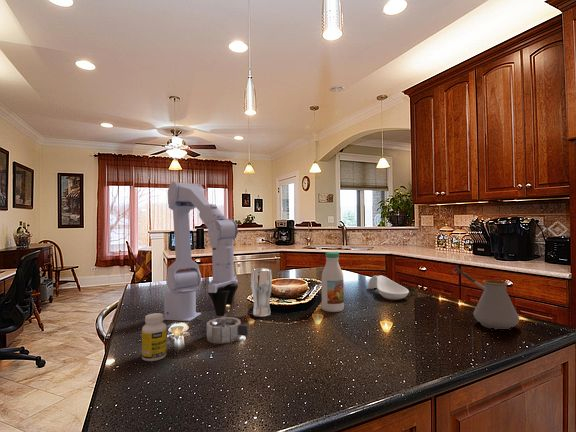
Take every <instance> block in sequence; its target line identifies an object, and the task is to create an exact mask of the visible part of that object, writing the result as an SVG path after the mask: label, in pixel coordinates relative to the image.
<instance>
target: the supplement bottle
mask: <svg viewBox="0 0 576 432" xmlns="http://www.w3.org/2000/svg"><path fill="white" fill-rule="evenodd" d="M144 317H145V318H144V321H145V323H144V325H143V326H142V328H141V359H142V360H143V361H146V362H155V361H160V360H162V359H164V358H165V357H166V356H167V330H168V329H167V324H166V323H164V320H163V318H164V313H158V312H156V313H150V314H146V315H145V316H144Z"/></svg>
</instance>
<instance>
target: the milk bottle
mask: <svg viewBox="0 0 576 432" xmlns="http://www.w3.org/2000/svg"><path fill="white" fill-rule="evenodd" d="M339 258H340V253H339V252H338V251H326V252H325V259H326V261H325V265H324V267H323V270H322V274H321V309H322V311H325V312H330V313H338V312H342V311H343V310H344V309H345V302H344V301H345V296H344V295H345V291H344V290H345V287H344V286H345V285H344V284H345V282H344V274H343V271H342V270H343V269H341V266H340V264H339V263H340V262H339V260H340V259H339Z"/></svg>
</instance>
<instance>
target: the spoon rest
mask: <svg viewBox="0 0 576 432" xmlns="http://www.w3.org/2000/svg"><path fill="white" fill-rule="evenodd" d="M374 288H377V291H378V293H379V295H381V296H382V297H383V298H384V299H386V300H391V301H399V300H402V299H404V298H406V297H407V296H408V294H409V293H410V291H409V289H408V288H406V287H405V286H402V285H401V284H399V283H397V282H395V281H394V280H391V279H390V278H388V277H387V276H384V275H373V276H371V278H370V279H369V281H368V284H367V289H369V290H373V289H374Z"/></svg>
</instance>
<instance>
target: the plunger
mask: <svg viewBox="0 0 576 432" xmlns="http://www.w3.org/2000/svg"><path fill="white" fill-rule="evenodd" d="M229 311H230V304H229V303H226V311H225V315H224V316H221V318H222V324H220V325H216V326H214V327H227V326H232V324H226V317H227V316H226V314H227V313H228V312H229ZM230 312H231V311H230Z"/></svg>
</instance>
